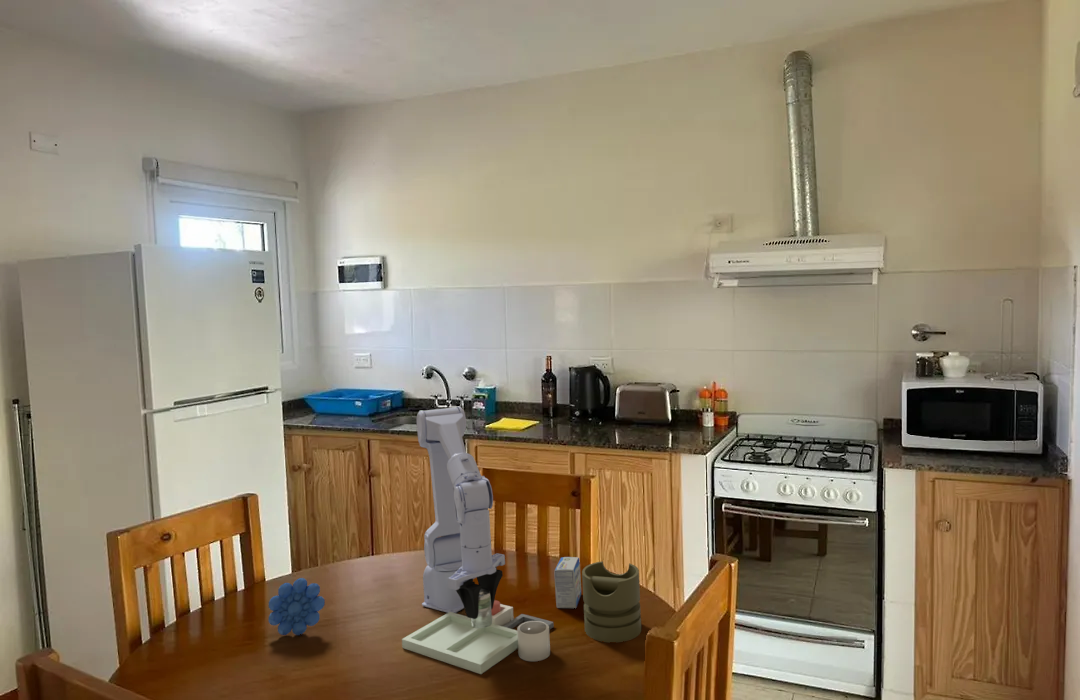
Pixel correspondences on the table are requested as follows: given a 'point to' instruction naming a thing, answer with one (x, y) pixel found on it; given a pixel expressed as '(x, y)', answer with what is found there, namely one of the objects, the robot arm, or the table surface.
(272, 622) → the blue flower
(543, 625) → the cup
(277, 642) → the table surface
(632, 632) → the piston
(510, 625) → the cradle
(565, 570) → the medicine box
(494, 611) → the button
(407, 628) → the table surface
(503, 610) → the frame
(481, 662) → the trough tray
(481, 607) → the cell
